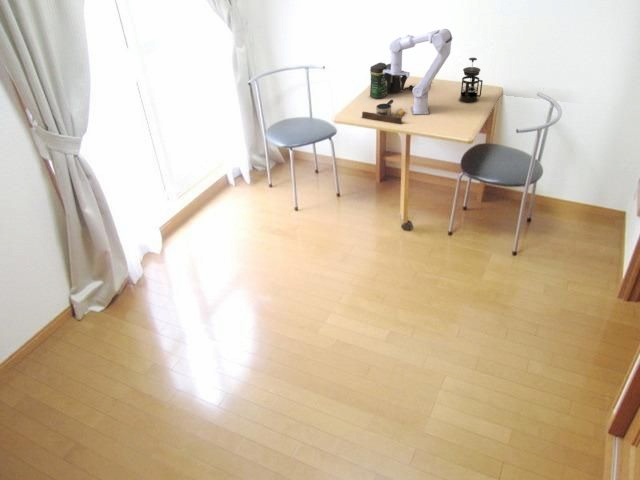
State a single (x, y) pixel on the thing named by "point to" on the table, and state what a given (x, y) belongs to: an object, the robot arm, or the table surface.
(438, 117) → the table surface
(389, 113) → the steel pot
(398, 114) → the knife
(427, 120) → the table surface
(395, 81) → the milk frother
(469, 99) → the french press
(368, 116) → the walnut rail
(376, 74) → the coffee jar
